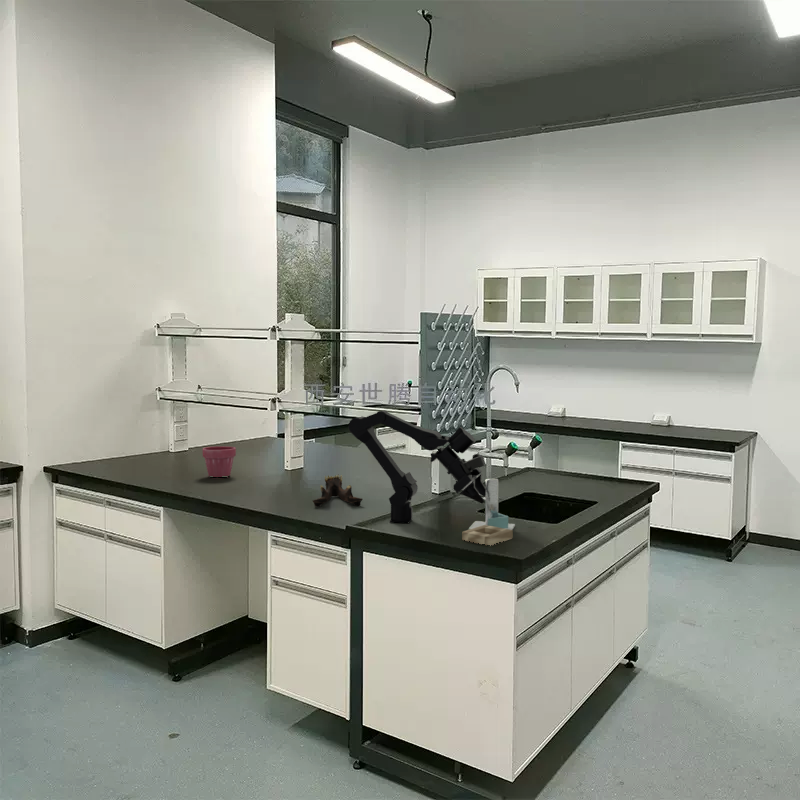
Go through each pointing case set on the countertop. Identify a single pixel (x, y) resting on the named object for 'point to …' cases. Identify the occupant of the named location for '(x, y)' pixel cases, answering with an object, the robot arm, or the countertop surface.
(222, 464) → the plant pot
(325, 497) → the dark brown branching piece
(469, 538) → the wooden frame
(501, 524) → the plate with teal chevron
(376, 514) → the countertop surface
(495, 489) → the silver metal cylinder
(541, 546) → the countertop surface
